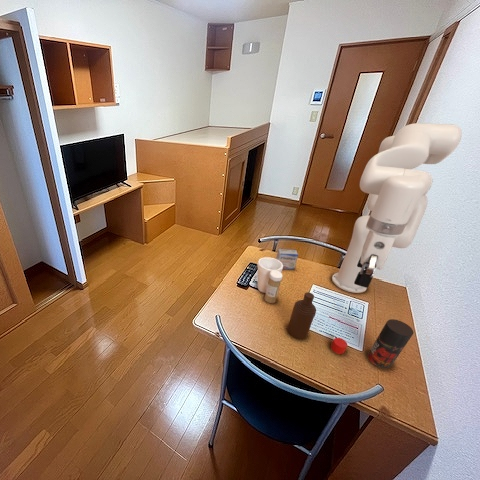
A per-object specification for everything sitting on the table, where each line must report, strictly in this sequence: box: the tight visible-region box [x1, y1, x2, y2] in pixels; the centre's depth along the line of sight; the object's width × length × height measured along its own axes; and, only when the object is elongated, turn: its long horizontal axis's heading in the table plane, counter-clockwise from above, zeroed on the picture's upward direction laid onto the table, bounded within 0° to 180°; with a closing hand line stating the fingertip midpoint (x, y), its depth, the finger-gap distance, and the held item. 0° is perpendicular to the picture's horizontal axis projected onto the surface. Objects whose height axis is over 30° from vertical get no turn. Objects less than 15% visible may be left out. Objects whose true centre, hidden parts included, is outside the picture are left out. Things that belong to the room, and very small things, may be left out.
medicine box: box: [275, 248, 299, 270], centre depth 121 cm, size 8×4×9 cm, turn 81°
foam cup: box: [256, 256, 284, 294], centre depth 108 cm, size 10×9×13 cm
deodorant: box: [367, 318, 414, 370], centre depth 77 cm, size 6×6×15 cm
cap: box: [330, 337, 348, 355], centre depth 84 cm, size 4×4×3 cm
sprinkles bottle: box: [263, 271, 283, 304], centre depth 102 cm, size 5×5×14 cm
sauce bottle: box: [286, 291, 317, 341], centre depth 87 cm, size 6×6×18 cm
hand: (361, 276), depth 76 cm, fingers open, 9 cm apart
